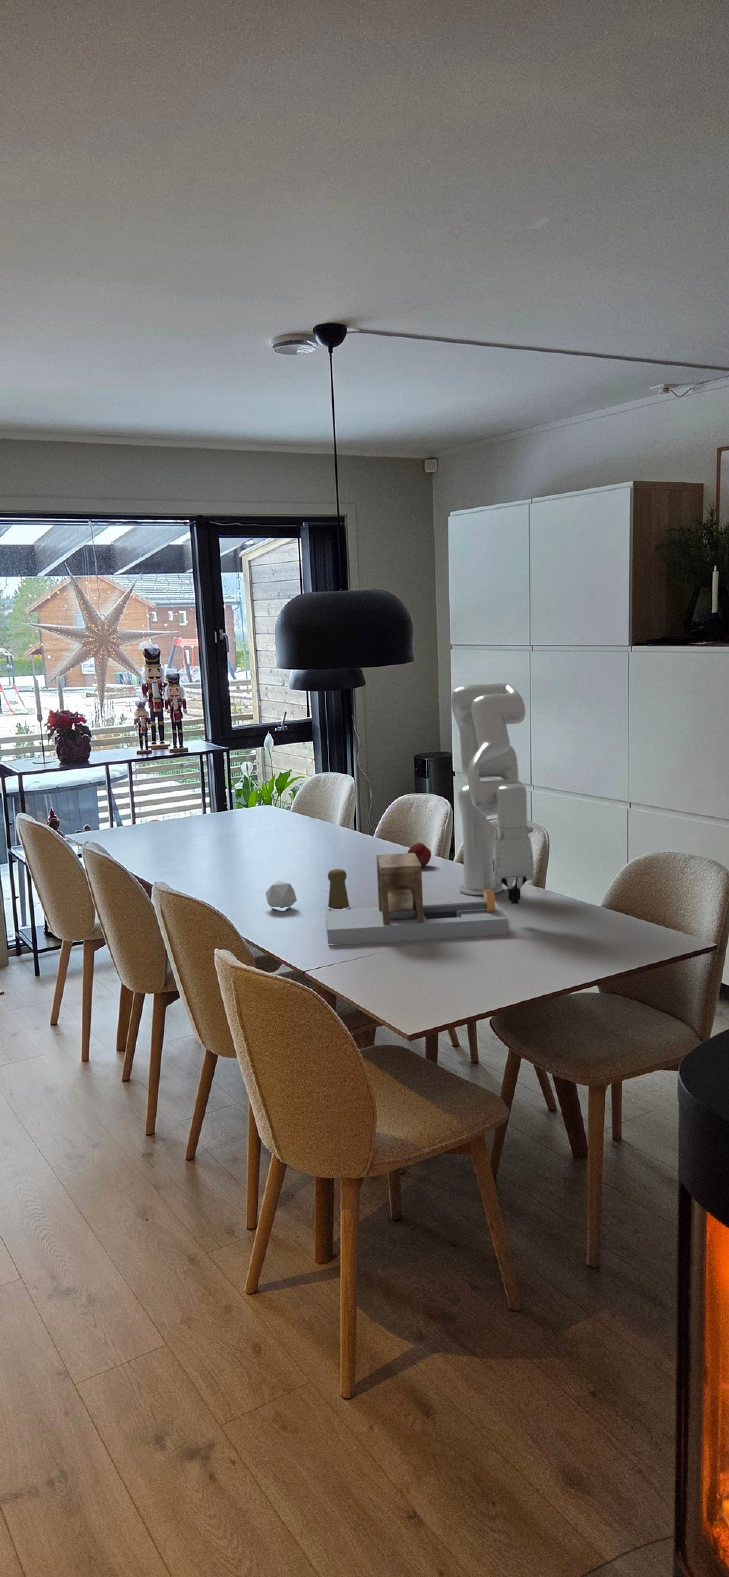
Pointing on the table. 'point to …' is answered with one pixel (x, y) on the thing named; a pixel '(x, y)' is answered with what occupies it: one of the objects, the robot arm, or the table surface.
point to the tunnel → (399, 880)
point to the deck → (412, 925)
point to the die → (281, 895)
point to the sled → (447, 907)
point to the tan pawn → (337, 889)
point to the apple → (421, 853)
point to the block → (400, 900)
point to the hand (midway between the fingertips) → (514, 902)
